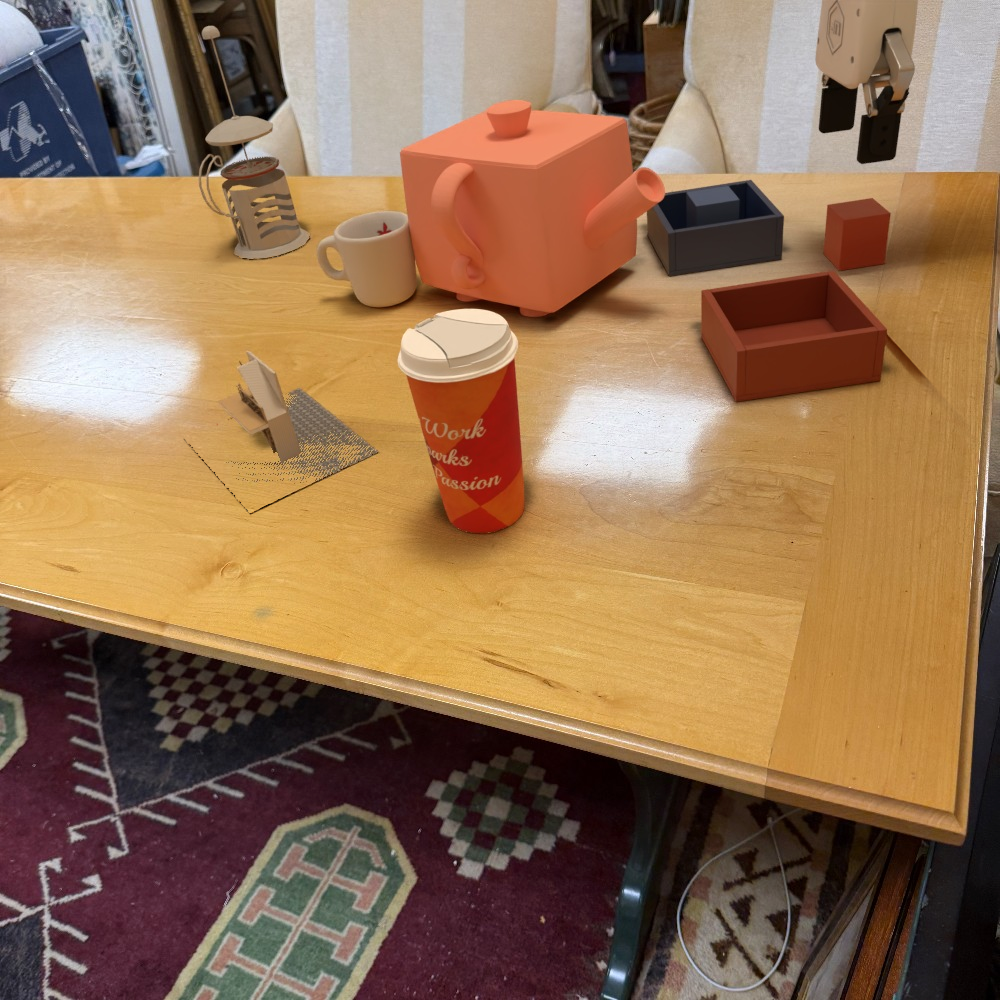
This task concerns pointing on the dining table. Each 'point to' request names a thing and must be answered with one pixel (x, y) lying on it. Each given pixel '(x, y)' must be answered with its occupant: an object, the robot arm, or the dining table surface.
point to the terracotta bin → (791, 336)
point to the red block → (856, 234)
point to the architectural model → (289, 421)
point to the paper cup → (469, 414)
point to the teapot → (525, 205)
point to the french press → (253, 173)
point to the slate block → (711, 206)
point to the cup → (374, 257)
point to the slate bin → (716, 233)
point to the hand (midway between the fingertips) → (854, 145)
